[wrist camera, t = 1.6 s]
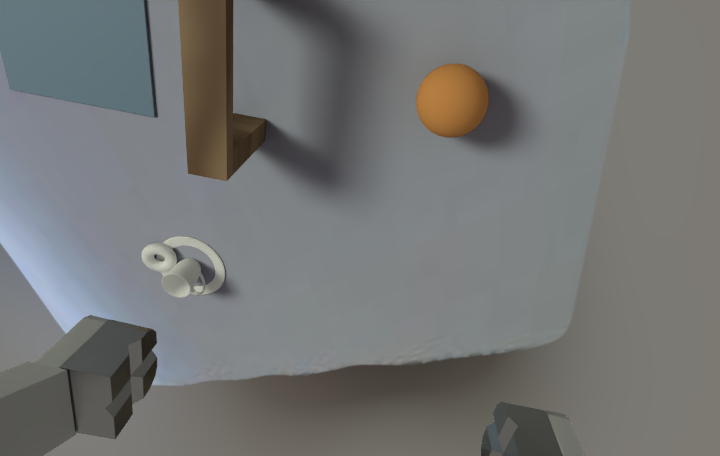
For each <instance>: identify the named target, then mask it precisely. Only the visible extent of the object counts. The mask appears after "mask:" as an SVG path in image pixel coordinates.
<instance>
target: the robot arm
mask: <svg viewBox="0 0 720 456" xmlns="http://www.w3.org/2000/svg"><path fill="white" fill-rule="evenodd" d="M156 343H157V338H156V331H154V330H153V329H149V328H145V327H141V326H136V325H132V324H128V323H123V322H119V321H115V320H108V319H104V318H100V317H96V316H92V315H90V316H87V317H85V318H83V319H82V320H81V321H80V322H78V323H77V324H76V325H75V326H74V327H73V328H72V329H71V330H70V331H69V332H68V333H67V334H66V335H65V336H63V337H62V338H61V339H60V340H59V341H58V342H57V343H56V344H55V345H54V346H53V347H52V348H51V349H50V350H49V351H47V352H46V353H45V354H44V355H43V356H42V357H41V358H40V359H39V360H38V361H37V362H36V363H31V362H26V363H24V364H21V365H19V366H16V367H13V368H11V369H9V370H6V371H3V372H0V456H43V455H45V454H46V453H48V452H50V451H51V450H53V449H54V448H56V447H57V446H59V445H60V444H62V443H63V442H65V441H67V440H68V439H70V438H71V437H73V436H74V435H76V432H77V433H82V434H88V435H94V436H99V437H105V438H111V439H116V438H117V436H118V435H119V433H120V432H121V430H122V429H123V427H124V426H125V424H126V423H127V422H128V420H129V419H130V417H131V415H132V414H133V412H132V404H134V403H135V402H137V401H139V400H141V399H143V398H144V397H145V395H146V393H147V392H148V390H149V389H150V387H151V385H152V382H153V380H154V377H155V374H156V369H157V357H156V355H155V354H154V353H153V351H152V349H153V347H154V346H155V345H156ZM493 415H494V420H495V422H494V423H492V424H490V425H488V426H487V427H486V430H485V432H484V435H483V439H482V445H481V456H585V455H584V453H583V450H582V448H581V446H580V443H579V441H578V438H577V436H576V434H575V431H574V429H573V427H572V424H571V422H570V420H569V418H568V417H567V416H566V415H565V414H561V413H556V412H551V411H545V410H540V409H535V408H530V407H525V406H520V405H515V404H510V403H505V402H500V403H499V404H497V406H496V408H495V410H494V412H493Z"/></svg>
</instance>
